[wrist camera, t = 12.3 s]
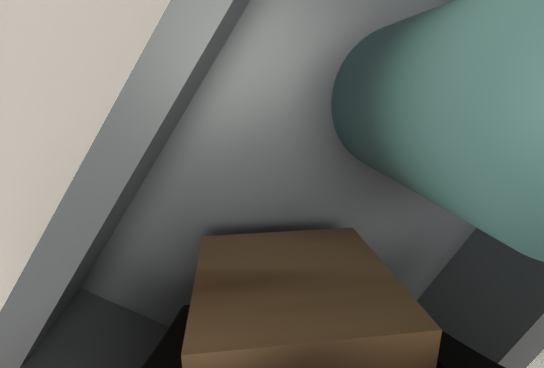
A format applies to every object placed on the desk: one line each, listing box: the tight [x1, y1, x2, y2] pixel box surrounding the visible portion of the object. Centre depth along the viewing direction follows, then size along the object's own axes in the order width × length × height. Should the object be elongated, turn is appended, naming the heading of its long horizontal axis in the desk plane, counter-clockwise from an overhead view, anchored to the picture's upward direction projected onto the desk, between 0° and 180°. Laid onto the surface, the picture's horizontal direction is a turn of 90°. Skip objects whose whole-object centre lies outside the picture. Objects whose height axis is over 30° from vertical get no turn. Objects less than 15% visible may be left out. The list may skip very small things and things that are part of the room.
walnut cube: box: [181, 228, 442, 368], centre depth 9 cm, size 5×5×5 cm
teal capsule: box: [331, 0, 544, 262], centre depth 8 cm, size 5×5×7 cm
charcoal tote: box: [0, 0, 544, 368], centre depth 11 cm, size 14×18×5 cm
